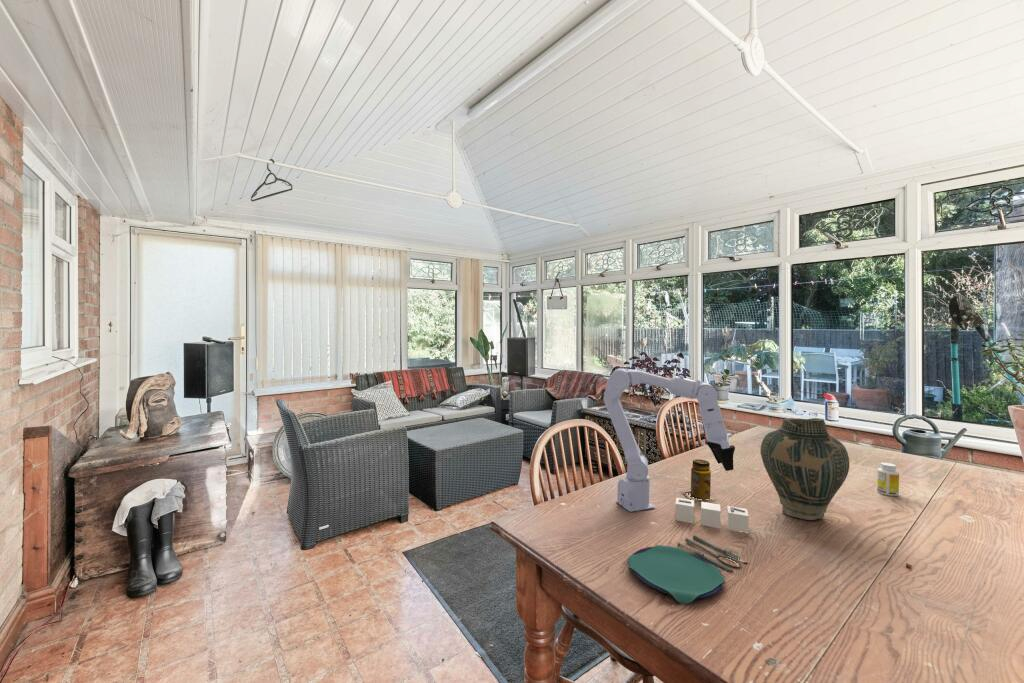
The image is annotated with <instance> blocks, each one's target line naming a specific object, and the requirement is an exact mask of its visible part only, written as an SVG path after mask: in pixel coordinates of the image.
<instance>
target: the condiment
mask: <svg viewBox="0 0 1024 683" xmlns="http://www.w3.org/2000/svg"><path fill="white" fill-rule="evenodd" d="M710 465H711V464H710V462H709V460H704V459H693V460H692V467H691V470H690V491H680V493H681V494H682V493H683V494H684V493H685V495H684V496H685V497H686V493H688V495H689V493H691V496H690V497H691V498H689V497H688V498H687V499H689V500H690V499H691V500H692V499H693V498H692V497H694V498H697V500H696V499H693V500H694V502H695V501H696V502H699V501H700V502H701V501H707V500H706V499H710V496H711V482H712V481H711V480H712V478H711V477H712V475H711V474H712V473H711V470H710V469H711V468H710ZM683 494H682V495H683ZM711 497H712V496H711ZM712 498H713V499H712V500H711V501H716V500H717V499H716V498H714V497H712ZM698 499H702V500H698Z"/></svg>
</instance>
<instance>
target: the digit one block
mask: <svg viewBox="0 0 1024 683" xmlns="http://www.w3.org/2000/svg"><path fill="white" fill-rule="evenodd" d="M674 504H675V509H674V510H675V514H674V516H675V518H674V519H675V521H678V520H679V521H678V522H685V523H690V524H694V523H695V501H694V500H690V499H689V498H683V497H676V499H675V503H674Z"/></svg>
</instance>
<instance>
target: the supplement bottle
mask: <svg viewBox="0 0 1024 683" xmlns="http://www.w3.org/2000/svg"><path fill="white" fill-rule="evenodd" d="M876 474H877V475H876V476H877V480H876V481H877V483H876V490H877V492H878V493H879V494H882V495H884V496H889V497H890V496H891V497H898V496H899V494H900V491H899V490H900V472H899V471H898V470H897V465H896V464H893V463H890V462H880V467H879V468H877V473H876Z"/></svg>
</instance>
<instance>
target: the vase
mask: <svg viewBox="0 0 1024 683" xmlns="http://www.w3.org/2000/svg"><path fill="white" fill-rule="evenodd" d="M760 455H761V459H762V464H763V466H764V469H765V471H766V473H767V476H768V477H769V479H770V481H771V483H772V485H773V486H774V489H775V490H776V493H777V495H778V498H779V504H780V505H782V507H781V509H782V510H781V512H782V513H783V514H784V515H787V516H789V517H793V518H797V519H800V520H801V519H802V520H807V521H814V520H815V521H816V520H818V519H823V518H824V517H825V513H827V509H828V507H829V504H830V503H831V501H832V500H833V498H834V497H835V496H836V494H837V493H838V491H839V490H840V488H841V487H842V485H843V484H844V483H845V481H846V479H847V477H848V475H849V471H850V457H849V453H848V451H847V448H846V446H845V445H844V444H843V443H842V442H841V441H840V440H838V439H837V438H834V437H832V436H831V435H830V434H829V432H828V430H827V426H826V422H825V420H824V418H817V417H814V418H793V417H789V418H783V419H782V424H781V426H780V428H778V429H776V430H774V431H773V430H772V431H770V432H768V433H767V434H765V435H764V437H763V439H762V441H761V445H760Z"/></svg>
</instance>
